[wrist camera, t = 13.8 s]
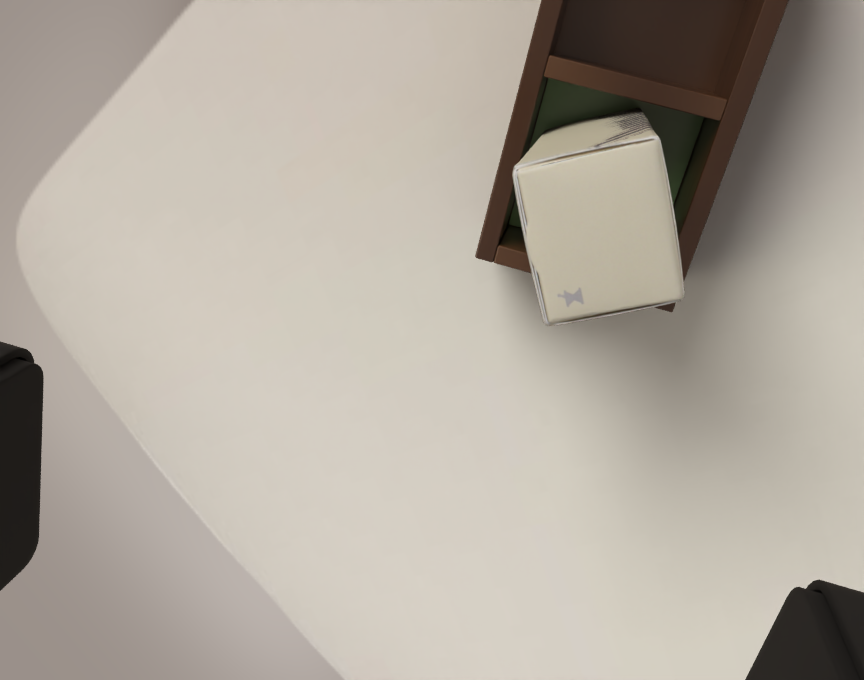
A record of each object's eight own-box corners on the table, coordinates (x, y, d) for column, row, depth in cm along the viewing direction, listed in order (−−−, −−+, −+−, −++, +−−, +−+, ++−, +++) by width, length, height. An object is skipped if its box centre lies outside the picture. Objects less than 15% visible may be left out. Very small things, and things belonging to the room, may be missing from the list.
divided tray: (488, 233, 37) (474, 258, 33) (589, -153, 31) (588, -183, 27) (663, 280, 37) (672, 312, 32) (803, -105, 30) (836, -128, 26)
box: (660, 219, 35) (693, 313, 23) (560, 239, 36) (543, 338, 24) (640, 98, 33) (665, 130, 21) (537, 123, 34) (506, 166, 23)
